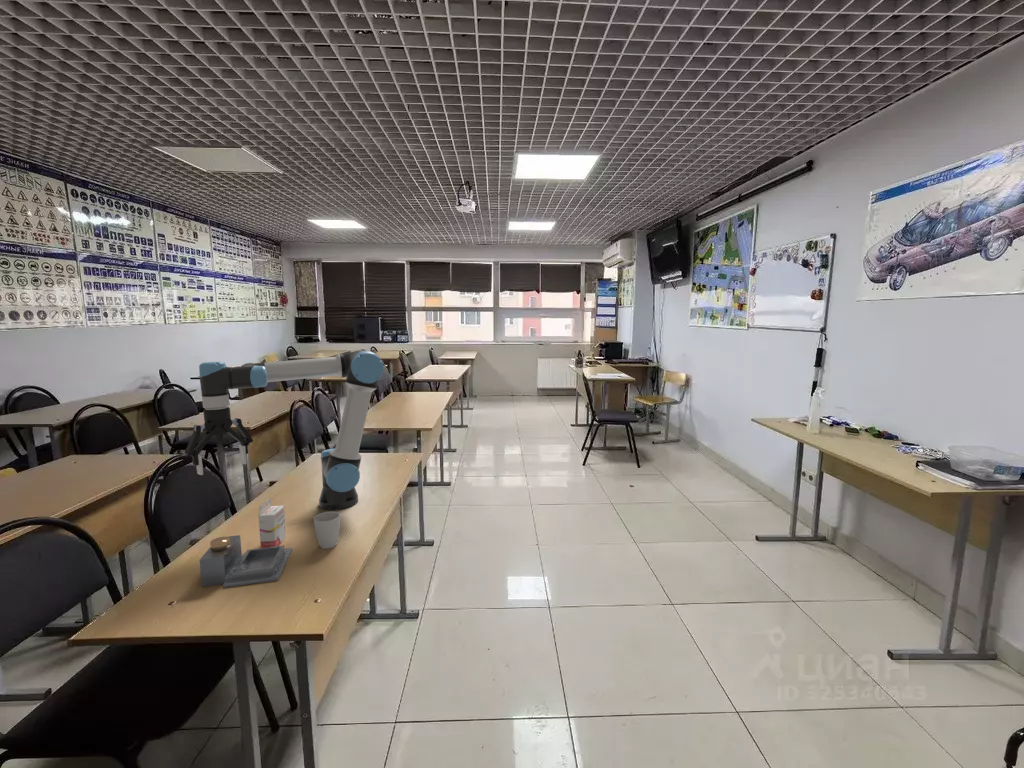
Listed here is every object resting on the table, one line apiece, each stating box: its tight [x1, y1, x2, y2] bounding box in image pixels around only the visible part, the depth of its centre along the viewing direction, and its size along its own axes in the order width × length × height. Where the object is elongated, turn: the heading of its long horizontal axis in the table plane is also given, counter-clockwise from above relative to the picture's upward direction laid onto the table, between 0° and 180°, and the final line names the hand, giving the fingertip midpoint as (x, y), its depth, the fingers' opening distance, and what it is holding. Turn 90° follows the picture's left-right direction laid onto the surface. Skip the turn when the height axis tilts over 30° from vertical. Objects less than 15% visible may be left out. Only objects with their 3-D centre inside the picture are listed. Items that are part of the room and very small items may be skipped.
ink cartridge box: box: [258, 497, 287, 548], centre depth 150 cm, size 9×5×15 cm, turn 5°
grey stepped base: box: [199, 534, 293, 589], centre depth 134 cm, size 20×18×10 cm
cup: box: [313, 511, 341, 550], centre depth 149 cm, size 8×8×10 cm
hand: (222, 468), depth 153 cm, fingers open, 13 cm apart
